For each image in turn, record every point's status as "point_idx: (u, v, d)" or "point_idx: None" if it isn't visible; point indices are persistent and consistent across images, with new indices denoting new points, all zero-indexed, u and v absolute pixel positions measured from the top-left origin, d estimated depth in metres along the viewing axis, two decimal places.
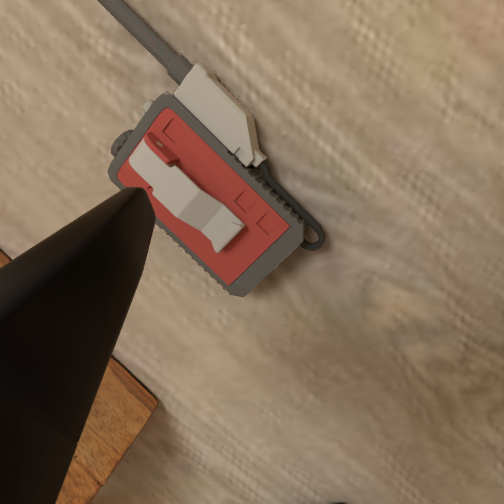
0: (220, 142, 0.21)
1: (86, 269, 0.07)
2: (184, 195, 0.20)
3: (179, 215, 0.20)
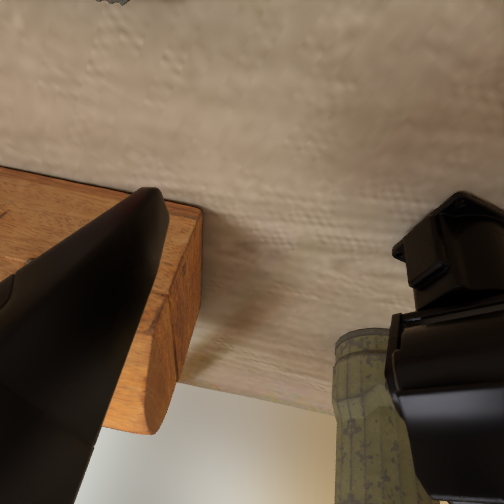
0: None
1: (104, 270, 0.07)
2: None
3: None
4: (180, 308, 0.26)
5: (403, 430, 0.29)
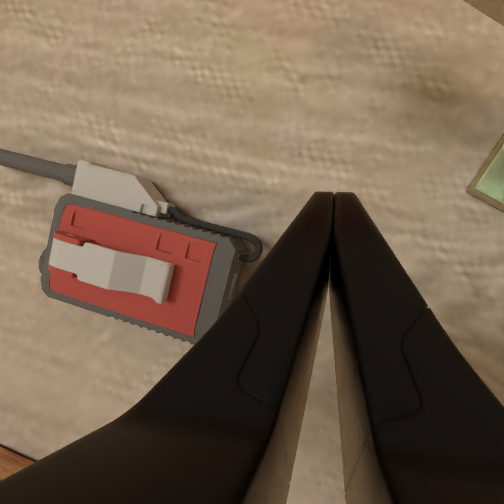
0: (124, 208, 0.22)
1: (319, 287, 0.06)
2: (105, 264, 0.20)
3: (109, 285, 0.20)
4: None
5: None
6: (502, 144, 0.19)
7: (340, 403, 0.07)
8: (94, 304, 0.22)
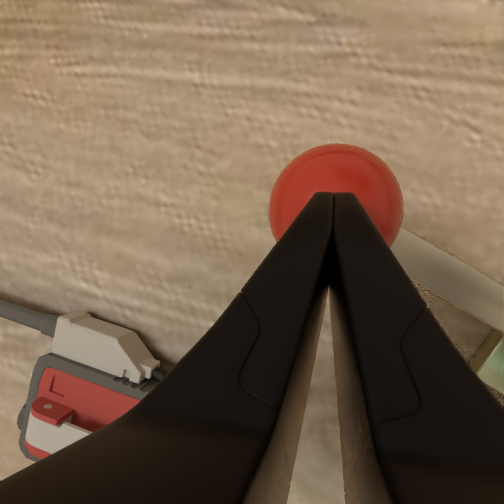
0: (106, 372, 0.20)
1: (320, 287, 0.06)
2: None
3: None
4: None
5: None
6: None
7: (340, 403, 0.07)
8: None
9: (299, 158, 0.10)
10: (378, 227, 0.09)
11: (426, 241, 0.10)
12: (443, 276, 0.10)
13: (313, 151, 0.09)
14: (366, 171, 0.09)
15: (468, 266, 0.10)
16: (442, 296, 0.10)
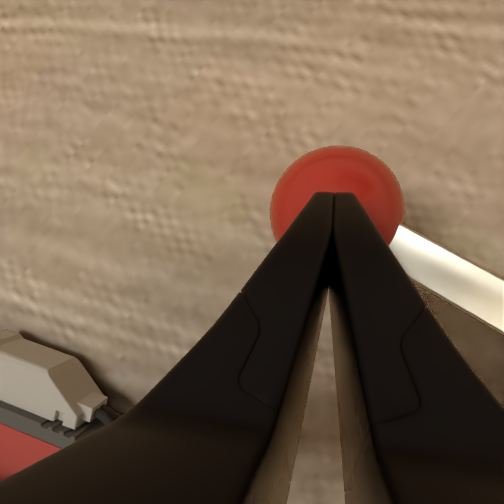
0: (34, 414, 0.16)
1: (320, 287, 0.06)
2: None
3: None
4: None
5: None
6: None
7: (339, 403, 0.07)
8: None
9: None
10: None
11: (428, 239, 0.09)
12: (451, 279, 0.09)
13: (307, 153, 0.10)
14: (347, 164, 0.09)
15: (481, 268, 0.08)
16: (451, 302, 0.09)
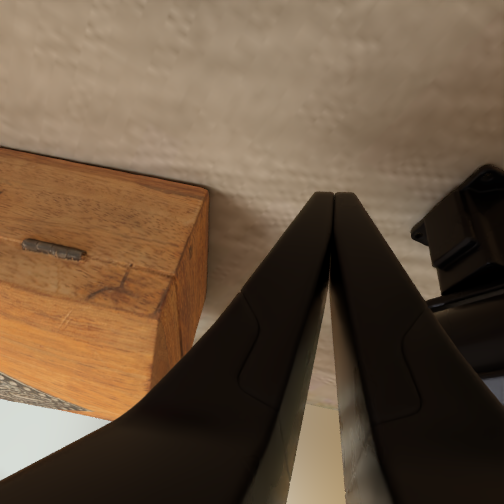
0: None
1: (319, 287, 0.06)
2: None
3: None
4: (186, 294, 0.25)
5: None
6: None
7: (340, 403, 0.07)
8: None
9: None
10: None
11: None
12: None
13: None
14: None
15: None
16: None
